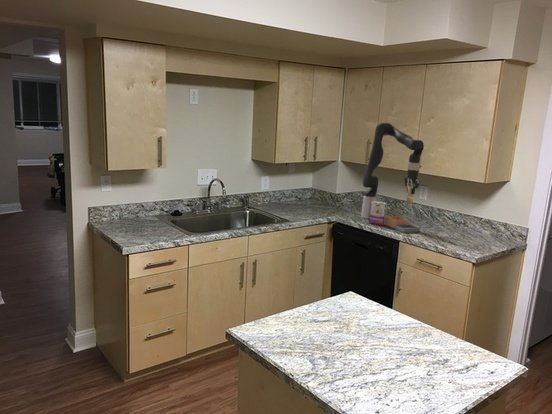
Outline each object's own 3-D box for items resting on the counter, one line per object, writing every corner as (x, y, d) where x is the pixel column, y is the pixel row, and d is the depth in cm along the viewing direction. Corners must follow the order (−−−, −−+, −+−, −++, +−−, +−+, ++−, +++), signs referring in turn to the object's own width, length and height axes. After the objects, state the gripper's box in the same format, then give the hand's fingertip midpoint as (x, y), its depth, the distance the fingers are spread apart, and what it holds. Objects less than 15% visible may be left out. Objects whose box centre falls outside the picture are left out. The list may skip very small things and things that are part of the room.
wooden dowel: (404, 205, 321) (407, 185, 318) (409, 205, 322) (411, 185, 319) (408, 206, 317) (410, 186, 314) (413, 206, 319) (415, 186, 316)
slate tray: (393, 229, 325) (393, 225, 325) (409, 228, 331) (409, 224, 330) (403, 233, 316) (403, 228, 315) (419, 232, 321) (419, 227, 320)
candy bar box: (385, 224, 338) (387, 202, 334) (383, 225, 333) (386, 203, 330) (370, 222, 343) (372, 200, 339) (368, 223, 338) (370, 201, 335)
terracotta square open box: (386, 225, 336) (387, 216, 334) (397, 224, 340) (398, 216, 338) (395, 228, 327) (396, 219, 325) (406, 228, 331) (407, 219, 329)
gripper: (402, 167, 319) (399, 191, 323) (415, 170, 306) (412, 195, 310) (411, 167, 322) (408, 191, 326) (424, 170, 309) (421, 195, 313)
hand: (410, 193), depth 318 cm, fingers closed on wooden dowel, 4 cm apart
